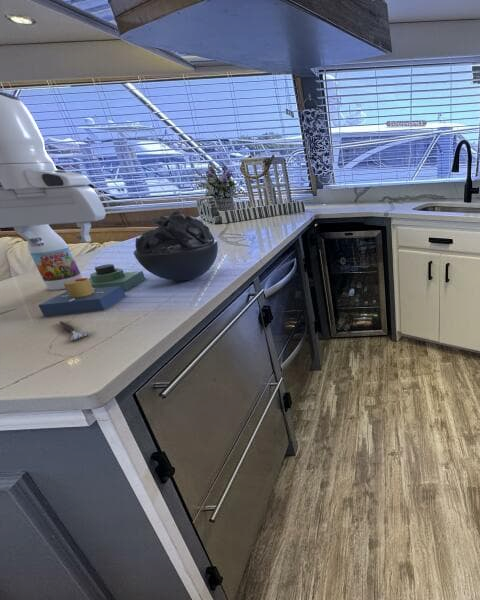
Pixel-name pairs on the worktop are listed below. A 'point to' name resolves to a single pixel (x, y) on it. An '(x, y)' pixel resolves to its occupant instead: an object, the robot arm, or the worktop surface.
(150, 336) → the worktop surface
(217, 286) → the worktop surface
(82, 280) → the dial
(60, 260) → the milk bottle
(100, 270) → the black round button
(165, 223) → the coal bowl
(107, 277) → the green stepped base
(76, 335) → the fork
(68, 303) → the dial panel
